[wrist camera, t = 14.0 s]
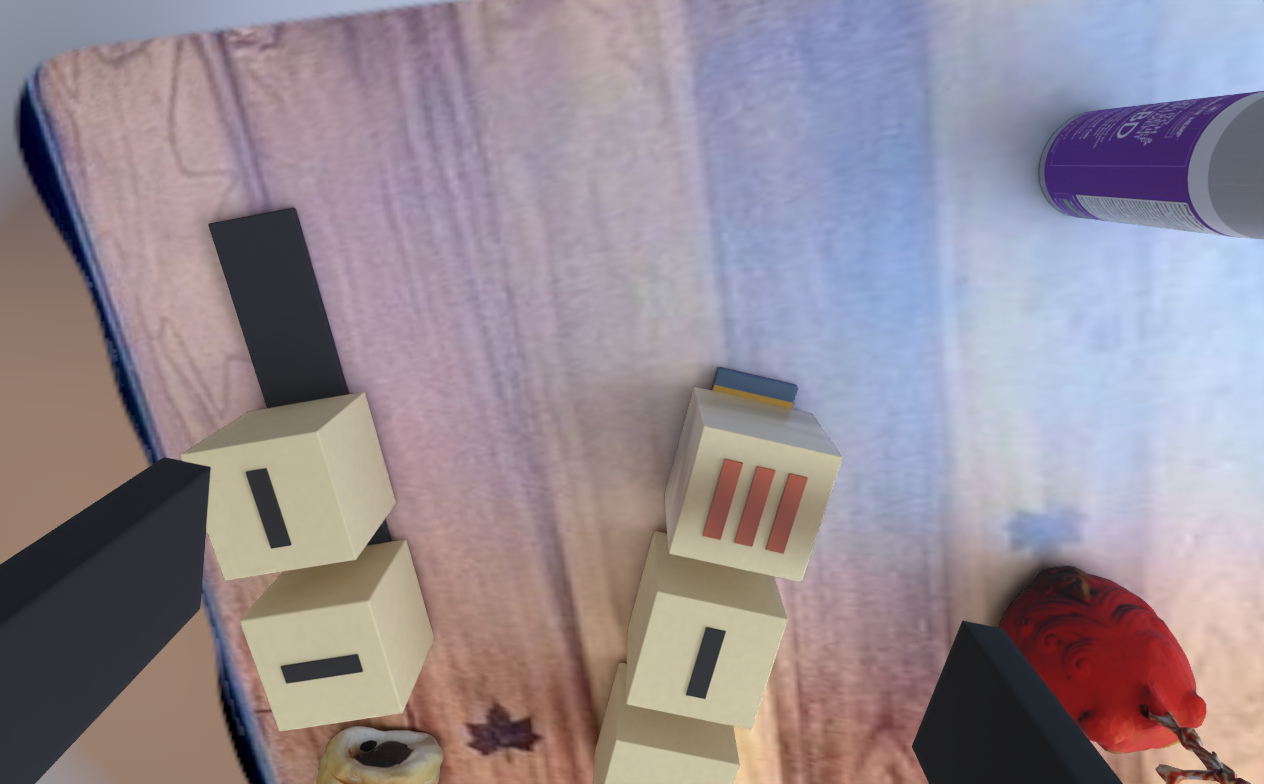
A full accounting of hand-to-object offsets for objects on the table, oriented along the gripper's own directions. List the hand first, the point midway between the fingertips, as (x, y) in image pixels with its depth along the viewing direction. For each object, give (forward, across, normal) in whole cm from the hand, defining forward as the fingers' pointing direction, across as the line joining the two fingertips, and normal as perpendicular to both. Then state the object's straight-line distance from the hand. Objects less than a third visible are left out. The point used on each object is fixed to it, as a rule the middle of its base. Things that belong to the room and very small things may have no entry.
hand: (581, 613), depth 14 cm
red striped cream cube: (+25, +7, -5) cm, 26 cm away
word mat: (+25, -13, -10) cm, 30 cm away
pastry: (+25, -7, -29) cm, 39 cm away
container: (+26, +20, +12) cm, 34 cm away
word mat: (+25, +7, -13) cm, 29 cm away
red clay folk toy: (+25, +26, -10) cm, 38 cm away
